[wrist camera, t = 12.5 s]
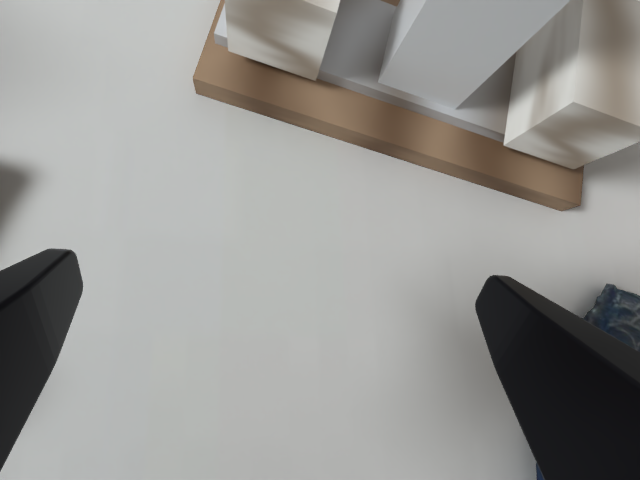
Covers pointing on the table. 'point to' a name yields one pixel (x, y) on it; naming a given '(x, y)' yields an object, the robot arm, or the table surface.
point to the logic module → (457, 43)
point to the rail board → (427, 116)
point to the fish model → (615, 320)
